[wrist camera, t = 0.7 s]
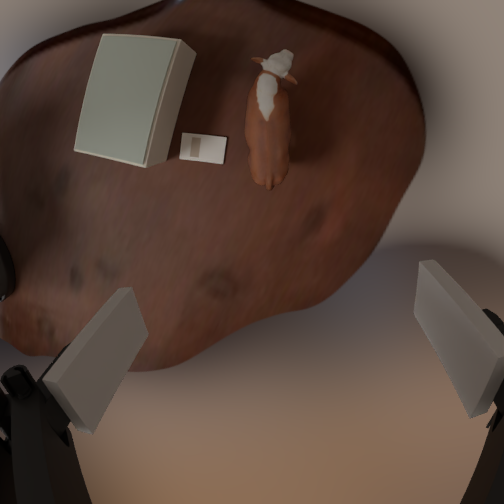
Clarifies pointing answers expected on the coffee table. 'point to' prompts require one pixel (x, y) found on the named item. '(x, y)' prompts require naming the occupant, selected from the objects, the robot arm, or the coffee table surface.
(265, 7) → the coffee table surface
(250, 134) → the bull figurine
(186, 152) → the page
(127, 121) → the plinth
